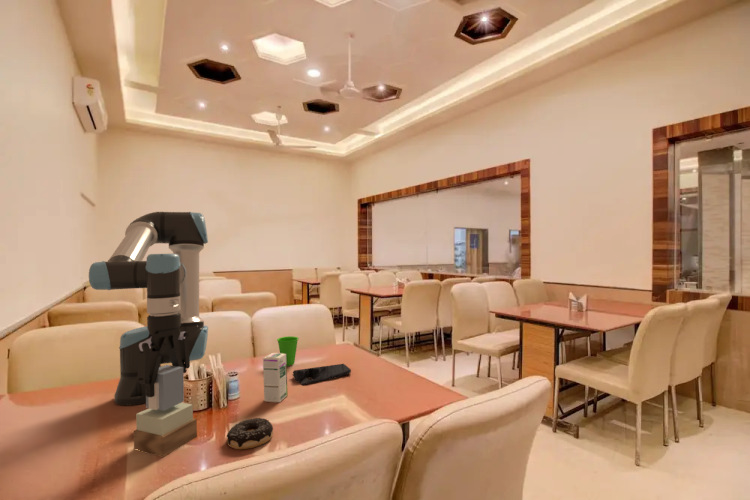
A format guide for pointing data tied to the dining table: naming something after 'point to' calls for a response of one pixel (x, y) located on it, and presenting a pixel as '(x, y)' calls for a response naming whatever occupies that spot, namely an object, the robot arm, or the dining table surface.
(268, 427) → the donut
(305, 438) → the dining table surface
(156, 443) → the tower base
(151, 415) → the tower top
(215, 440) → the dining table surface
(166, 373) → the gray block
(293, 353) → the cup
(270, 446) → the dining table surface
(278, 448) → the dining table surface
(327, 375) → the dark slate chunk
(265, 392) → the syrup box
